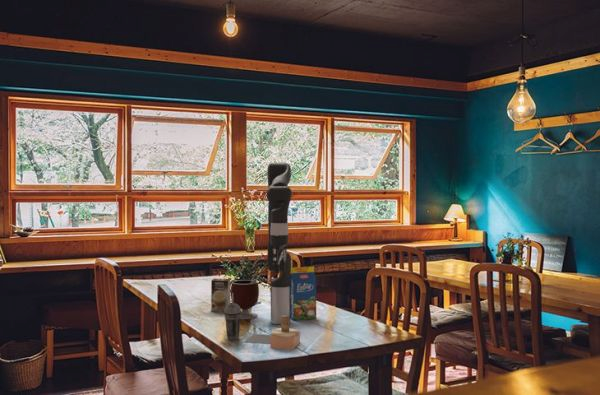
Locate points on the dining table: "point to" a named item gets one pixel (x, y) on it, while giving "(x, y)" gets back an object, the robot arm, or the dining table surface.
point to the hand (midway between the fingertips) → (279, 272)
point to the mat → (259, 339)
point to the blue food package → (302, 293)
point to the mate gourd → (245, 296)
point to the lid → (285, 329)
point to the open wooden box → (284, 342)
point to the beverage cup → (232, 320)
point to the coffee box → (220, 294)
